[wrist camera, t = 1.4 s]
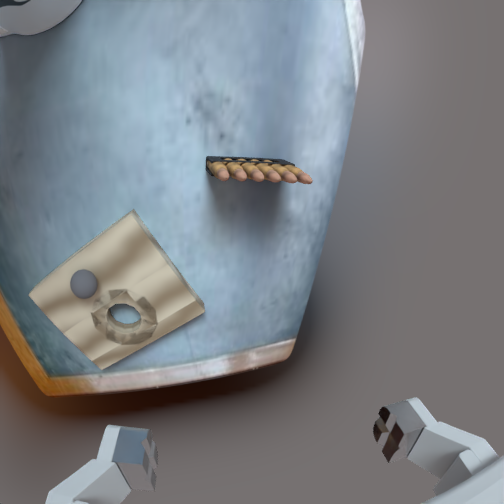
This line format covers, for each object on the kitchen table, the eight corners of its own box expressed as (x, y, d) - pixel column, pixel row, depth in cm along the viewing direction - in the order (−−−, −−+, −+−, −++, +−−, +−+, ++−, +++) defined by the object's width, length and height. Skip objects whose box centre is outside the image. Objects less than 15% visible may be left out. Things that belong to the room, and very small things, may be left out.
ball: (69, 273, 38) (61, 287, 34) (88, 259, 38) (80, 272, 34) (86, 294, 40) (80, 309, 36) (105, 280, 40) (100, 295, 36)
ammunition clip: (283, 159, 41) (320, 173, 31) (282, 172, 42) (318, 190, 31) (206, 156, 39) (216, 168, 28) (205, 170, 40) (215, 187, 29)
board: (33, 287, 39) (28, 295, 37) (133, 209, 39) (131, 214, 37) (103, 360, 48) (101, 369, 45) (203, 302, 47) (205, 311, 45)
